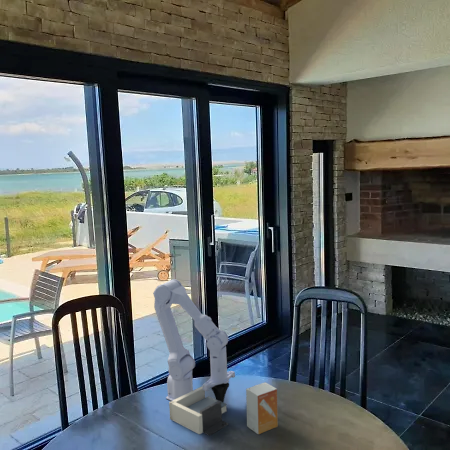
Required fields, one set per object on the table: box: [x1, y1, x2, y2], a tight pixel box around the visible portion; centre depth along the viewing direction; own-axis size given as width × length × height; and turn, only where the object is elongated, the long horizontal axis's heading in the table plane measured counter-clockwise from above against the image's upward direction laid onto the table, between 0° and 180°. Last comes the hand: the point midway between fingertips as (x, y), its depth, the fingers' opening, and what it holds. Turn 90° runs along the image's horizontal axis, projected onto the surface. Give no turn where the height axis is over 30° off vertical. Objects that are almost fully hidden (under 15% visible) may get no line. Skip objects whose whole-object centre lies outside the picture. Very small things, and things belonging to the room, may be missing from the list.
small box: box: [245, 381, 279, 435], centre depth 150 cm, size 8×6×13 cm
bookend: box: [200, 401, 229, 436], centre depth 151 cm, size 4×9×7 cm, turn 137°
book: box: [187, 396, 228, 415], centre depth 160 cm, size 9×12×3 cm
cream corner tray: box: [168, 385, 206, 435], centre depth 157 cm, size 14×15×6 cm
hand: (220, 402), depth 165 cm, fingers closed
